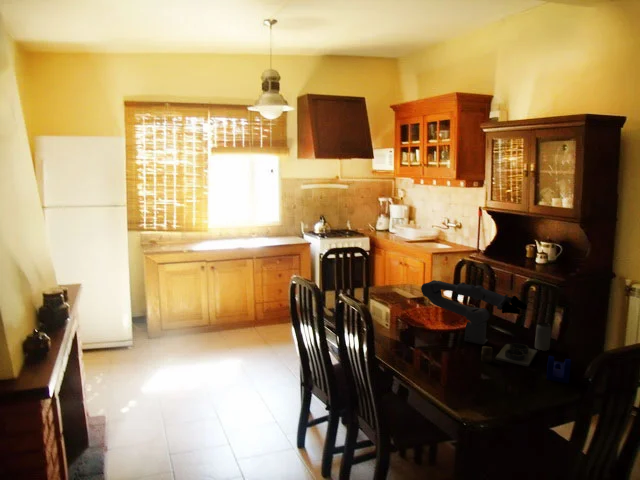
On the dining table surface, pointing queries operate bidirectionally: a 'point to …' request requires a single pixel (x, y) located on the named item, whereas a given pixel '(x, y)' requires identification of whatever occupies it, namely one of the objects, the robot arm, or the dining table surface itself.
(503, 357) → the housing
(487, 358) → the tan rounded capsule
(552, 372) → the bracket
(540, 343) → the can
